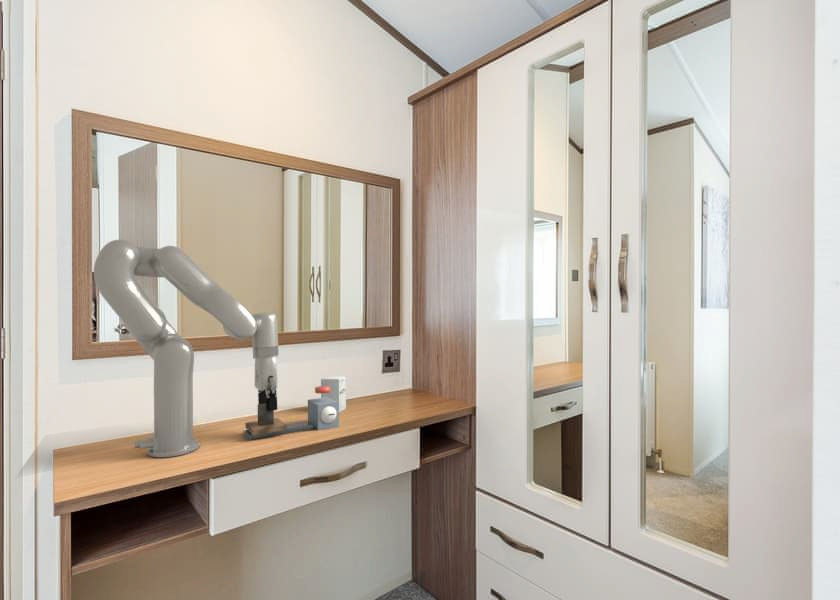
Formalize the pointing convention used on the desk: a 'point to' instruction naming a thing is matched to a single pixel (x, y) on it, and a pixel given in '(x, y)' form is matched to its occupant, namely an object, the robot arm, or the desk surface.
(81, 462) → the desk surface
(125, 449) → the desk surface
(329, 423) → the gauge cabinet
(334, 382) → the supplement box
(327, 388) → the button
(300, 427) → the track
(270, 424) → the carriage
